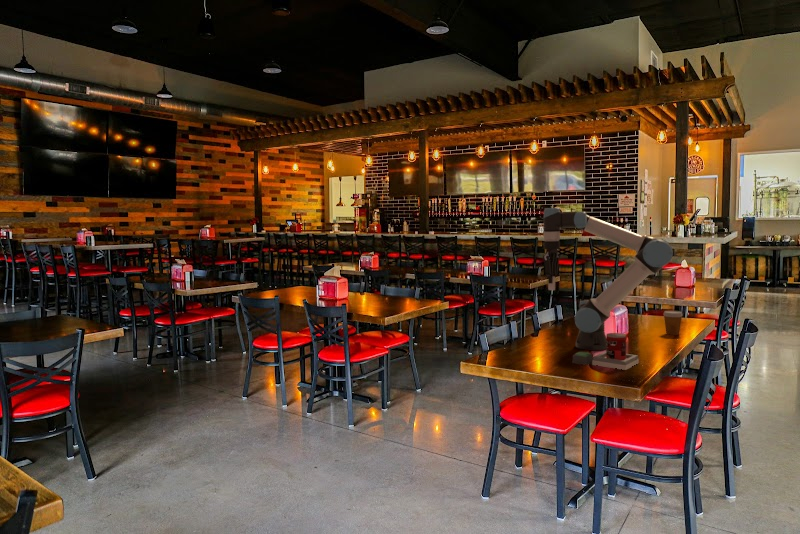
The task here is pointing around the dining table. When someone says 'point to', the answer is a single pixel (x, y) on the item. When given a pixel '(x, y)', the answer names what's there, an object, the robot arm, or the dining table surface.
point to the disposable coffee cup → (672, 322)
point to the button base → (582, 359)
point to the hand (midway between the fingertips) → (551, 289)
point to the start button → (583, 354)
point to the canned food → (616, 346)
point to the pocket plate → (615, 361)
